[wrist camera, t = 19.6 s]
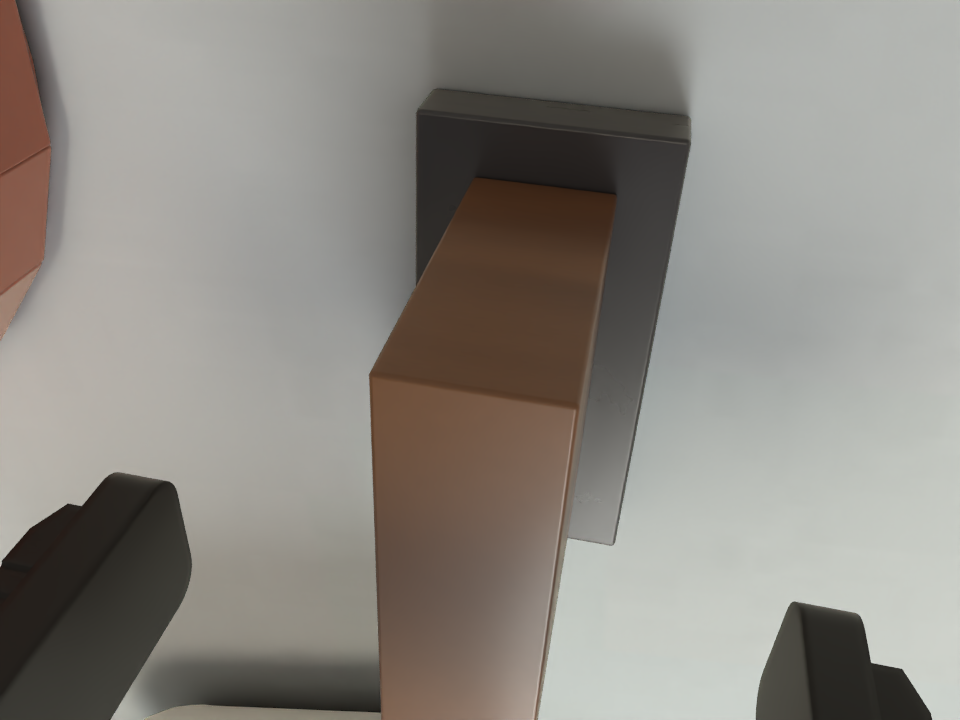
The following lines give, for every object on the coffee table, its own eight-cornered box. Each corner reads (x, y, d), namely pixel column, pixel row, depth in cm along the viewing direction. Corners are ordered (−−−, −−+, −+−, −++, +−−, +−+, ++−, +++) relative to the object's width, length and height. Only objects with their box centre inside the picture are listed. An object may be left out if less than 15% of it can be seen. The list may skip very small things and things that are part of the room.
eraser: (433, 86, 15) (274, 283, 9) (691, 115, 14) (691, 342, 9) (427, 475, 20) (323, 754, 14) (618, 508, 19) (587, 813, 14)
